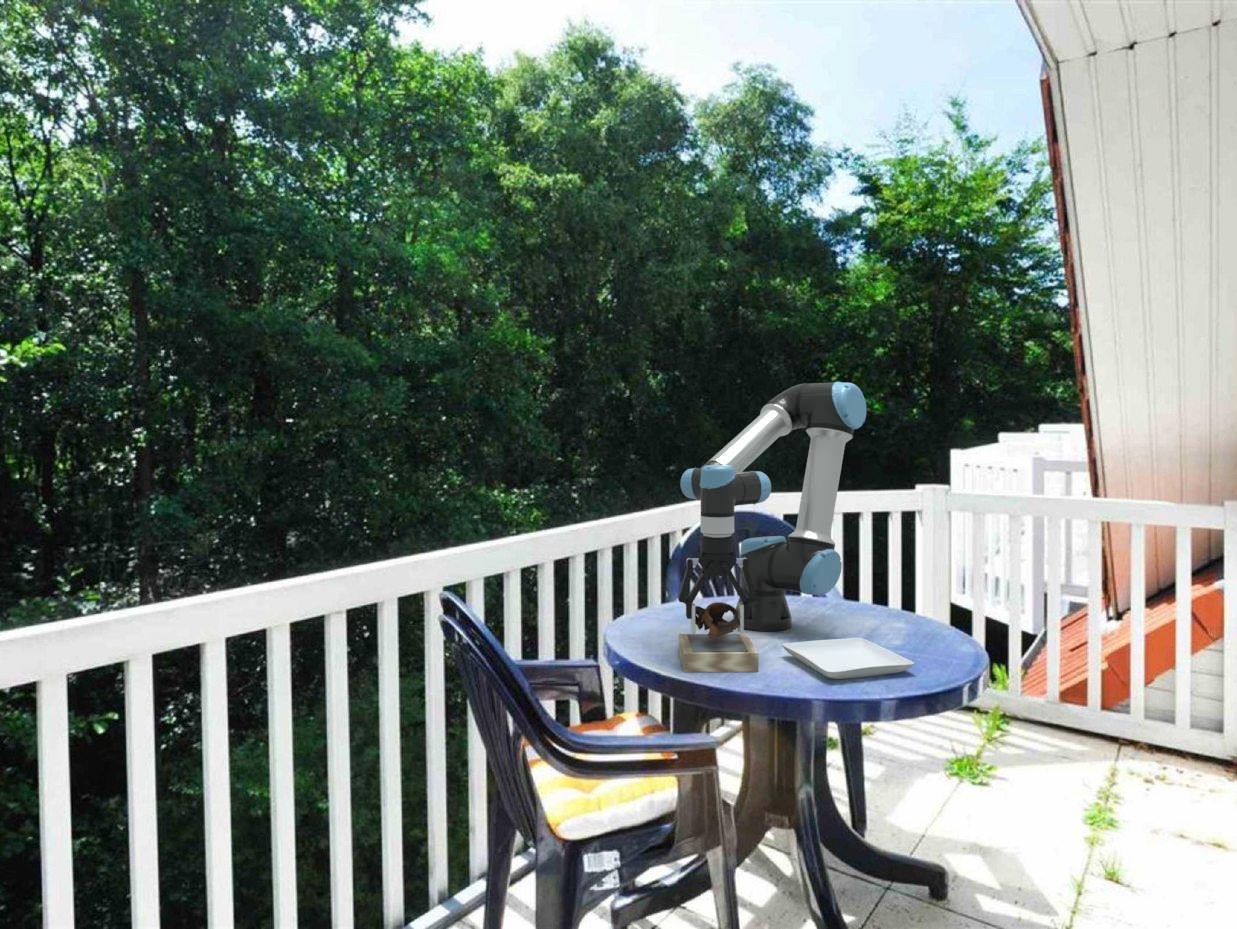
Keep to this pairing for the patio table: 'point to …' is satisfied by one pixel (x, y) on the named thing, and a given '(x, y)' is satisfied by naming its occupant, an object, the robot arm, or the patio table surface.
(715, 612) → the pottery mug
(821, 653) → the salad plate
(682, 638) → the wooden tray
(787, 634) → the patio table surface
